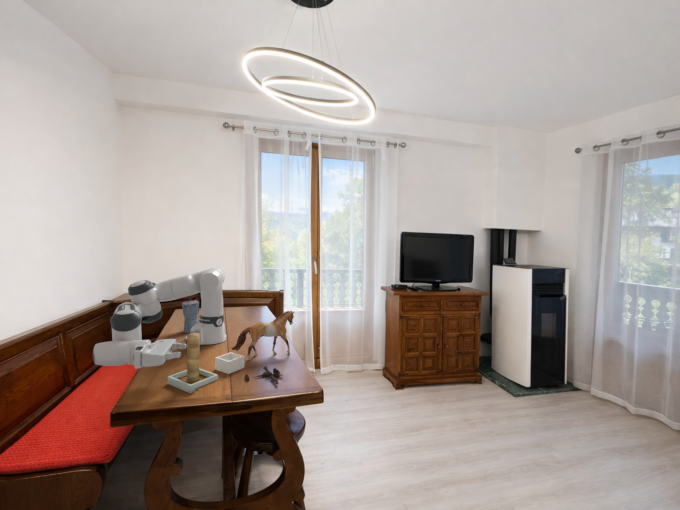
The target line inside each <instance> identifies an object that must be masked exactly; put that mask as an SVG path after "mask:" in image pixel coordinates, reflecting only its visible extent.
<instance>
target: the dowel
mask: <svg viewBox="0 0 680 510" xmlns="http://www.w3.org/2000/svg"><path fill="white" fill-rule="evenodd" d="M186 337H187V340H186V370H187V375H186V383H189V384H193V383H196V382H199V381H200V374H199V368H200V351H201V350H200V348H201V347H200V334H198V333H192V334H190V333H187V335H186Z"/></svg>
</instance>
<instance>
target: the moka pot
mask: <svg viewBox="0 0 680 510" xmlns="http://www.w3.org/2000/svg"><path fill="white" fill-rule="evenodd" d="M181 307H182V308H181V309H182V313H183V317H184V318H183V319H184V322H183V323H184V324H183V333H185V334H190V332H191V328H192V327H193V326H194V325H196V324H197V323H198V322H199V318H198V317H199V313H200V312H199V311H200V308H201V301H200V299H199V298H197V299H195V300H192V297H189V298H188V300H186V301H183V302H181Z"/></svg>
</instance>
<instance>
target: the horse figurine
mask: <svg viewBox="0 0 680 510" xmlns="http://www.w3.org/2000/svg"><path fill="white" fill-rule="evenodd" d="M294 313H295V311H293V310H287V311H284V312H282V313H281V314H280V315H279V316H278V317H276V318H275V319H274V320H273V321H270V322H263V321H257V322H255V323H253V324H251V326H248V327H246V328H245V329H243V330H242V331H241V332H240V333H239V335H238V338H237V339H236V344H235V346H233V347H231V348H230V349H231V350H232V351H236V352H237V351H239V350H240V349H241V348H242V346H243V345H244V344H245V342H246V340H247V335H248V333H249V335H250V338H251V342H250V344H249V346H248V350H247V355H246V358H247V361H251V360H252V359H251V357H250V355H251V352H252V349H253V353H254V354H253V355H254V357H258V351H257V349H256V347H255V346H256V344H257V342H258V341H259V340H260V338H262V337H267V338H271V337H272V338H273V343H272V350H271V351H272V353H273V355H274V356H276V355H278V353H277V351H275V347H276V344H277V338H278V337H280V338H281V339H282V340H283V341H284V343H285V344H286V346H287V350H286V353H287V354H288V355H290V353H291V352H290V351H291V348H290V343H289V340H288V337H287V335H286V334H287V332H288V331H287V327H286V325H287V322H288V323H289V325H290V326H292V325H293V324H294V322H293V320H294V317H295V316H294Z"/></svg>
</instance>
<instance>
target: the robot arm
mask: <svg viewBox="0 0 680 510" xmlns="http://www.w3.org/2000/svg"><path fill="white" fill-rule="evenodd" d="M225 279H226V278H225V274H224V272H223V271H222V270H221V269H219V268H217V267H216V268H215V267H214V268H213V267H211V268H207V269H205V270H201V271H197V272H192V273H190V274H185V275H183V276H178V277H174V278H170V279H167V280H163V281H161V282H159V283H155V282H152V281H150V280H146V279H143V280H137V281H134V282H133V283H132V284H130V285H129V286H128V287H127V290H128V295H129V298H130V301H124V302H122V303H121V304H119V305H117V307H116V309H115V311H114V312H113V314H112V315H111V317H110V319H109V320H110V325H111V335H112V336H111V337H112V340H111V341H109V340H108V341H104V342H99V343H95V345H94V346H93V349H92V361H93V363H94V365H96V366H104V367H106V366H107V367H109V366H110V367H114V366H117V367H118V366H122V365H132V366H133V368H134V369H135V370H136V369H138V370H140V369H142V368H143V367H144V368H151V367H158V366H161V365H164V363H165V362H167V360H168V361H169V360H172V359H179V358H180V357H181V356H182V351H175V352H173V351H174V350H177V349H179V350H186V349H187V343H180V342H177V339H175V338H164V339H156V340H155V341H154V342H152V341H151V340H150V339H142V337H143V336H142V323H144V324H151V323H155V322H157V321H159V320H160V319H161V318H162V317H163V313H164V311H163V308H162V306H161V303H160V302H168V301H169V302H170V301H174V300H179V299H183V298H186V297H190V296H194V295H197V294H199V293H200V299H201V301H200V309H201V312H200V315H199V316H198V317H197V318H198V323H197V324H196V325H194V326H193V327H192V328H191V332H190V333H189V334H192V333H198V334H200V345H217V344H220V343H224V342H225V341H226V340H227V336H228V335H227V334H226V325H225V322H224V321H225V314H224V295H223V284H224V282H225ZM185 340H186V341H187V336H185Z"/></svg>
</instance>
